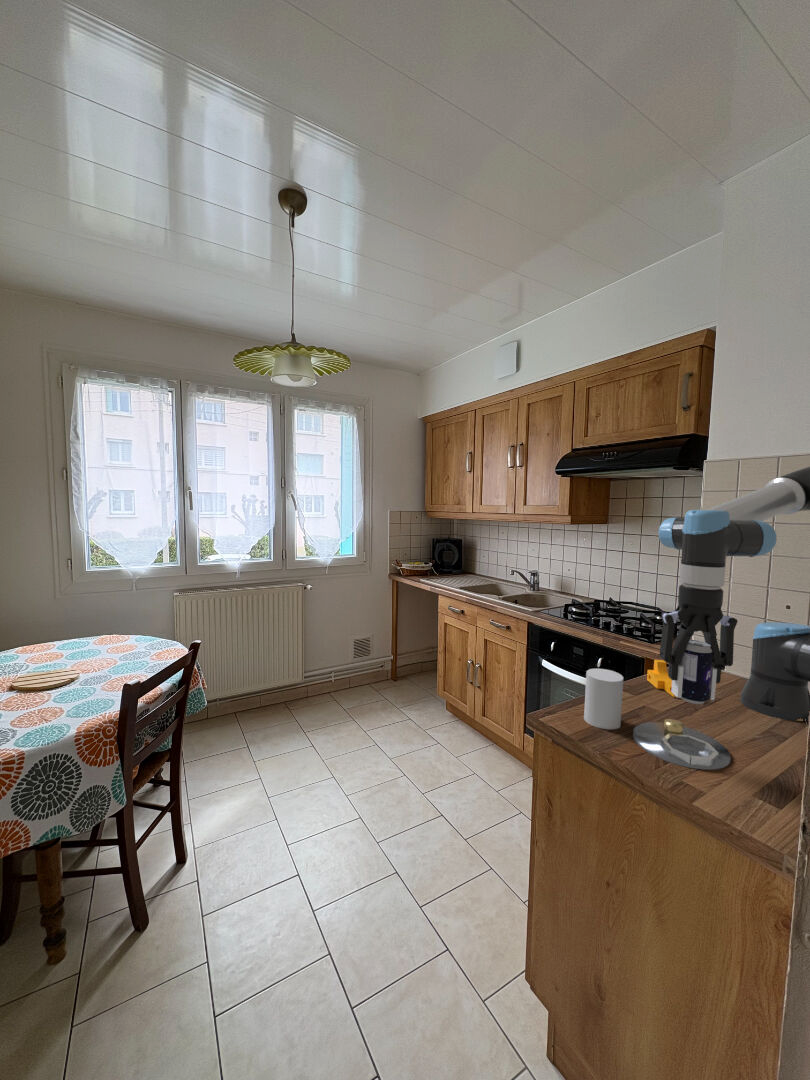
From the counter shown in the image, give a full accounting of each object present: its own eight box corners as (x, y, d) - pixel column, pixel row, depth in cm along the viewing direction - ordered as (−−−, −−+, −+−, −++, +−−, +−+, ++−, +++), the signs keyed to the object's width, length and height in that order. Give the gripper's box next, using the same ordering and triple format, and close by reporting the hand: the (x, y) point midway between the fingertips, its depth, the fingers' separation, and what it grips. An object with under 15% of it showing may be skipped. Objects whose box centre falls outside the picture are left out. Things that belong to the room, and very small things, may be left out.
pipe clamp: (646, 679, 134) (648, 659, 134) (661, 680, 134) (663, 660, 133) (667, 697, 122) (668, 674, 122) (683, 697, 122) (684, 675, 121)
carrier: (701, 730, 104) (702, 713, 103) (750, 776, 86) (752, 756, 86) (621, 724, 106) (622, 707, 106) (652, 768, 88) (654, 748, 88)
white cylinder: (625, 722, 107) (627, 674, 106) (613, 735, 101) (616, 684, 100) (591, 711, 112) (593, 666, 111) (578, 722, 106) (581, 674, 106)
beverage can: (709, 708, 87) (714, 649, 86) (675, 701, 90) (680, 644, 89) (707, 698, 92) (712, 642, 91) (676, 691, 95) (680, 637, 94)
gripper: (739, 584, 92) (730, 691, 93) (644, 580, 94) (637, 685, 96) (763, 591, 84) (753, 707, 86) (660, 587, 87) (652, 700, 88)
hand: (692, 695), depth 91 cm, fingers closed on beverage can, 6 cm apart
